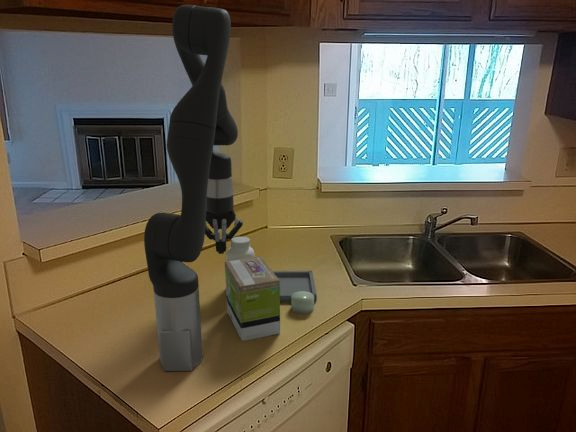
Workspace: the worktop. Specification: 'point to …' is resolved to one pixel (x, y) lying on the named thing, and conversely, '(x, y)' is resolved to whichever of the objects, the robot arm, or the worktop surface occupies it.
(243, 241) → the pill bottle
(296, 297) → the squat mint cylinder
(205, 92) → the robot arm
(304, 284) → the tray
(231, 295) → the tea box
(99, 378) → the worktop surface
